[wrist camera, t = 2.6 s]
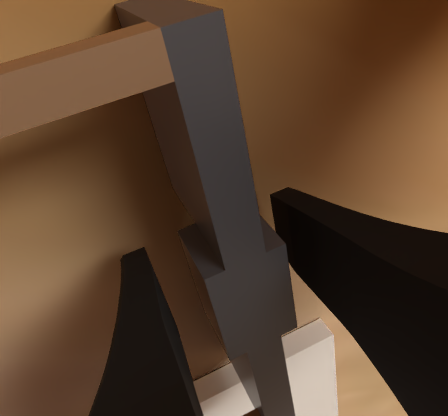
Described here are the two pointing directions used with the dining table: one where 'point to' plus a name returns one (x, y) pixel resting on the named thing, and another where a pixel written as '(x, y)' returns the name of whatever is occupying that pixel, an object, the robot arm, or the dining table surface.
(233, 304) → the glasses
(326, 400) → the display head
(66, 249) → the dining table surface
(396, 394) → the robot arm
